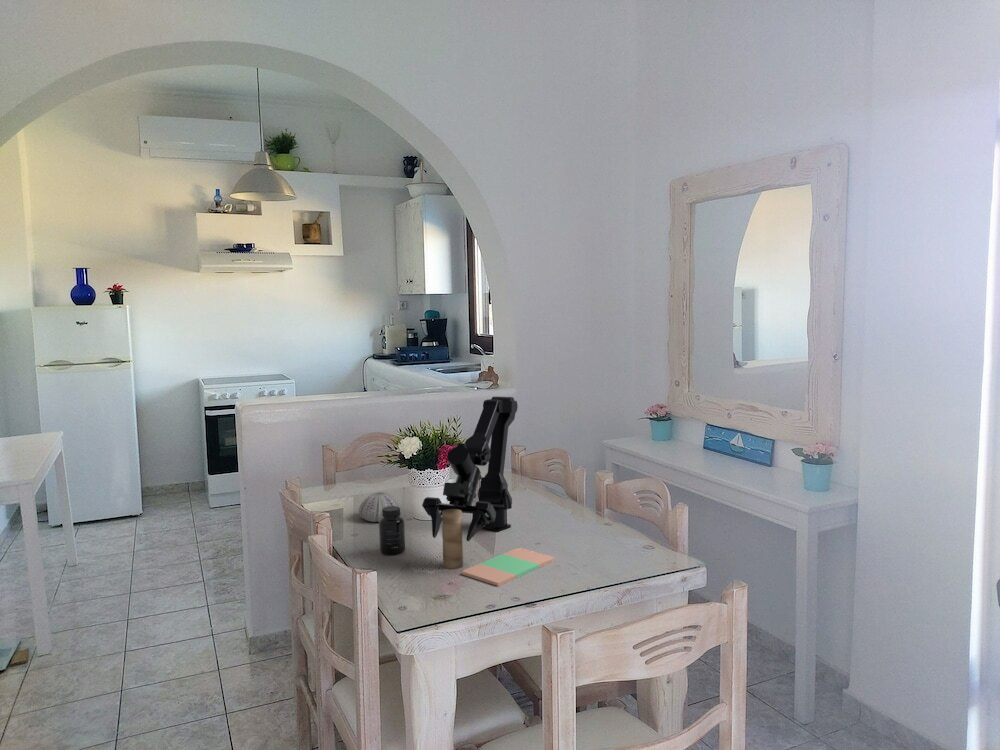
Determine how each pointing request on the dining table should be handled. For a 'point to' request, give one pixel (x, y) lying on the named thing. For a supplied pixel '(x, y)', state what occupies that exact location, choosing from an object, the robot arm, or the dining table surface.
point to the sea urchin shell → (376, 506)
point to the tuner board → (508, 566)
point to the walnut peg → (452, 538)
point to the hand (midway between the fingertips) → (450, 538)
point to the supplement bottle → (391, 531)
